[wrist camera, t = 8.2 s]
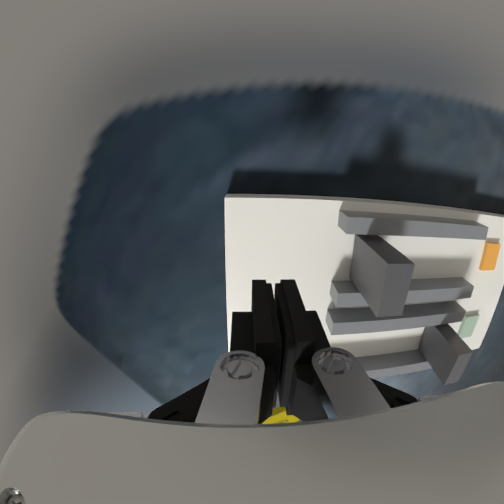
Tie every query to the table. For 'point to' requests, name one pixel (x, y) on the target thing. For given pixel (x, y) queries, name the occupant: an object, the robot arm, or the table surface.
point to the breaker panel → (339, 264)
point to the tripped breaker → (381, 274)
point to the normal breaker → (445, 352)
